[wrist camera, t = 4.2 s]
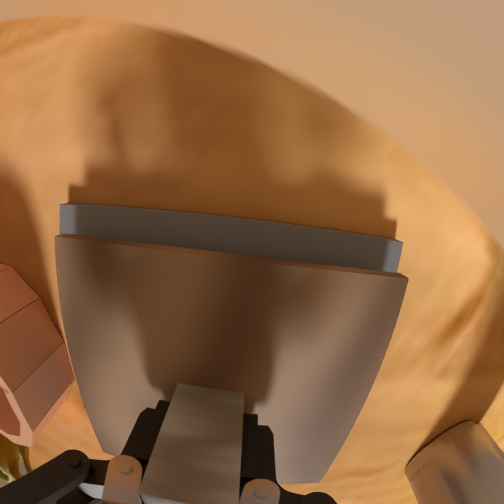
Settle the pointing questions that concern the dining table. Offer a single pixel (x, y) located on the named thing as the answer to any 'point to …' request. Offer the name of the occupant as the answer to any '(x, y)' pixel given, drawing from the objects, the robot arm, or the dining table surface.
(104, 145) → the dining table surface
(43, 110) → the dining table surface
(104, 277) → the lid
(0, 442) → the mug
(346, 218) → the dining table surface
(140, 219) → the mat
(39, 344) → the bowl
